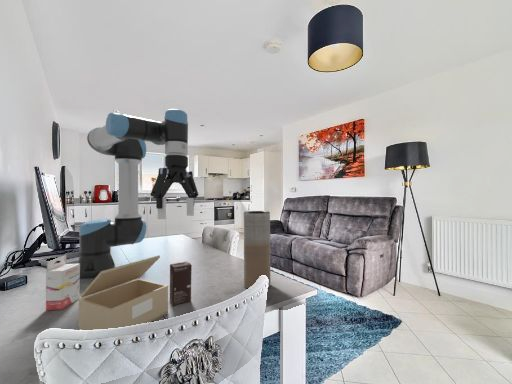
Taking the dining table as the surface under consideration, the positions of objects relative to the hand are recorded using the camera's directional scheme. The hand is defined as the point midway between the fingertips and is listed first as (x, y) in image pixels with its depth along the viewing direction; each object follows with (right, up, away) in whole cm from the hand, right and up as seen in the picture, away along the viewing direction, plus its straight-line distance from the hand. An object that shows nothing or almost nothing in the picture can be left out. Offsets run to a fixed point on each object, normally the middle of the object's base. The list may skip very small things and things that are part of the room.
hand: (177, 217), depth 84 cm
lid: (-9, -14, -17) cm, 24 cm away
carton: (-8, -27, -18) cm, 33 cm away
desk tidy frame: (-69, -28, +43) cm, 86 cm away
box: (+3, -27, -5) cm, 27 cm away
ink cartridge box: (-34, -27, -7) cm, 44 cm away
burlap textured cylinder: (+28, -27, +8) cm, 39 cm away
